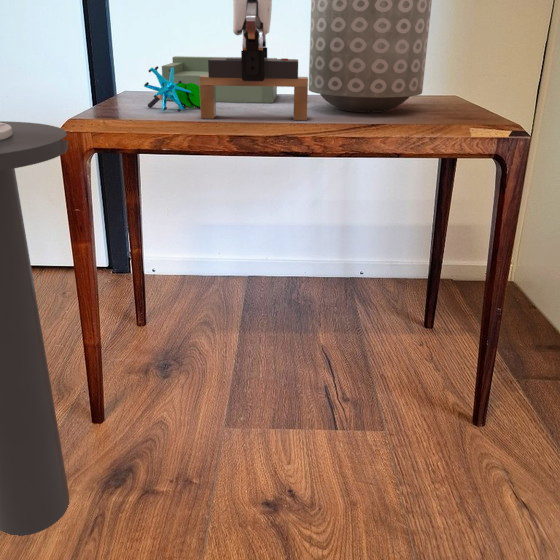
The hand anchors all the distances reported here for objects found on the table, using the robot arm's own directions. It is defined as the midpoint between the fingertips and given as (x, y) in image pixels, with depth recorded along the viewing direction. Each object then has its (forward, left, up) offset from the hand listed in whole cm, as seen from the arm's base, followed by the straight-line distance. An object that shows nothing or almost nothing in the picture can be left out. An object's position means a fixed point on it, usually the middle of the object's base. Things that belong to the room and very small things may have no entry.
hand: (255, 77), depth 89 cm
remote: (0, 0, 0) cm, 0 cm away
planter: (+21, -3, -6) cm, 22 cm away
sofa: (+11, +23, -6) cm, 26 cm away
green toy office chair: (-5, +16, -6) cm, 18 cm away
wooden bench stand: (0, 0, -6) cm, 6 cm away
